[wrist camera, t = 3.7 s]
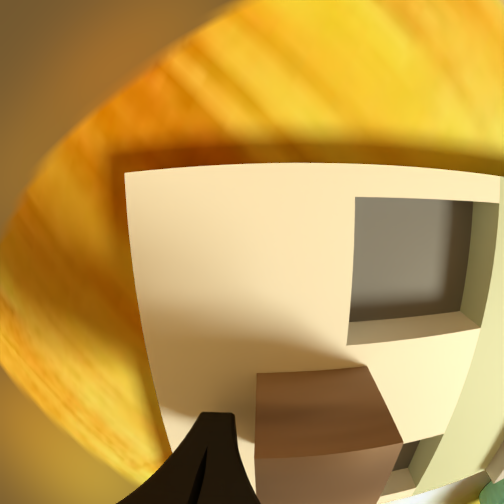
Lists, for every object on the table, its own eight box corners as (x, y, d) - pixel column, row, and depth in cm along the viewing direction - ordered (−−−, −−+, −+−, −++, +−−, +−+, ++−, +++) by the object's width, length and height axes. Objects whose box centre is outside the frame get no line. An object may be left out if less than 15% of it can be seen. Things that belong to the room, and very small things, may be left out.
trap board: (484, 448, 15) (503, 478, 11) (197, 488, 15) (189, 532, 12) (557, 187, 10) (602, 195, 7) (145, 172, 11) (102, 173, 8)
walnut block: (352, 438, 12) (372, 510, 8) (259, 445, 12) (257, 522, 8) (367, 366, 11) (403, 441, 7) (256, 373, 11) (253, 458, 7)
